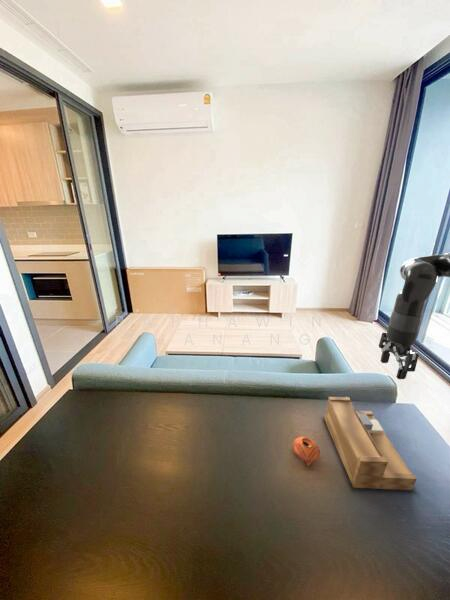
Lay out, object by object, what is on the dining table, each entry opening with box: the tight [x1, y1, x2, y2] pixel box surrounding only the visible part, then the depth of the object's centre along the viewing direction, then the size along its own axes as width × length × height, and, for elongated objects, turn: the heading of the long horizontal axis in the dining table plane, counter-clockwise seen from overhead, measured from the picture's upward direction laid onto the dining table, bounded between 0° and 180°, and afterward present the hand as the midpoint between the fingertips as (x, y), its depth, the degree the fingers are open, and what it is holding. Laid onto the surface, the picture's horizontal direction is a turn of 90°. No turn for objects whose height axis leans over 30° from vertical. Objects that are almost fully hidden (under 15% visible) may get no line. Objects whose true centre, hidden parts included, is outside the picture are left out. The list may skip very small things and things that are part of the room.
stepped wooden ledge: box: [323, 396, 417, 491], centre depth 77 cm, size 16×23×11 cm
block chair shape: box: [358, 414, 385, 433], centre depth 81 cm, size 8×4×4 cm, turn 88°
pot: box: [292, 436, 321, 467], centre depth 75 cm, size 8×8×7 cm
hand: (391, 370), depth 80 cm, fingers open, 8 cm apart
